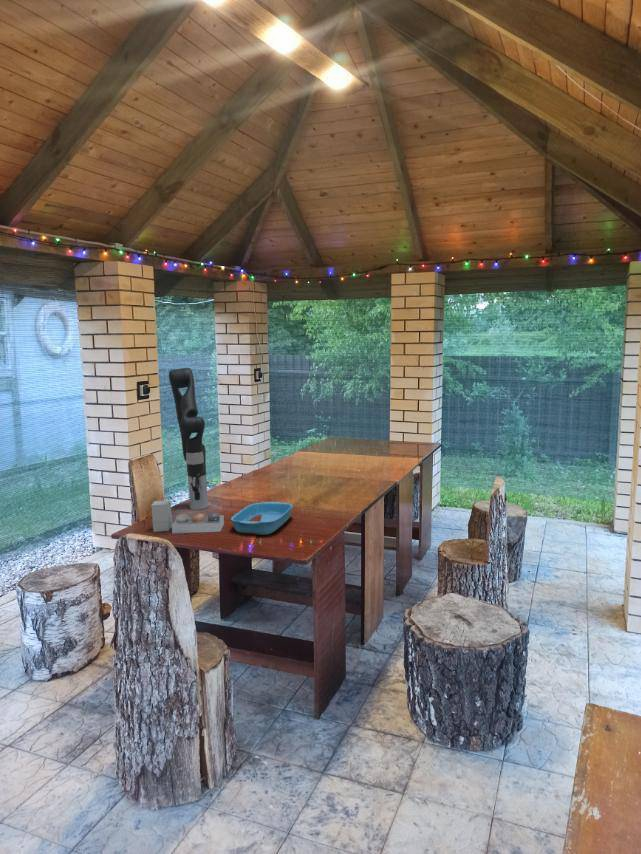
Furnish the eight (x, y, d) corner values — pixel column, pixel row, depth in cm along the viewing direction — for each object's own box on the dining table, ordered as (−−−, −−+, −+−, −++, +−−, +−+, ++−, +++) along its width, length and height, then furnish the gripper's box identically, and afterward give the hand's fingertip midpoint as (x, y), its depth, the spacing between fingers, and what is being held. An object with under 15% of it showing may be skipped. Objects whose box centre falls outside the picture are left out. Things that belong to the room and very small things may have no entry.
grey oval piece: (178, 528, 266) (177, 514, 265) (190, 528, 266) (189, 513, 266) (176, 532, 261) (175, 517, 260) (187, 531, 261) (186, 517, 260)
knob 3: (209, 527, 267) (208, 512, 266) (221, 526, 267) (220, 512, 266) (207, 530, 261) (206, 516, 261) (219, 530, 262) (218, 515, 261)
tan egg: (194, 527, 266) (193, 513, 266) (205, 527, 267) (204, 513, 266) (191, 531, 261) (190, 516, 260) (203, 531, 261) (202, 516, 260)
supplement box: (172, 526, 271) (171, 499, 270) (169, 531, 264) (167, 504, 262) (156, 527, 271) (154, 500, 269) (152, 532, 264) (150, 504, 262)
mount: (178, 527, 270) (177, 516, 269) (224, 525, 270) (223, 515, 269) (172, 535, 258) (171, 524, 257) (220, 533, 258) (219, 522, 258)
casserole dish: (254, 513, 289) (254, 499, 288) (298, 515, 283) (297, 501, 283) (224, 537, 254) (223, 521, 253) (273, 540, 248) (272, 523, 247)
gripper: (189, 459, 266) (191, 496, 269) (183, 465, 253) (186, 504, 256) (206, 458, 266) (208, 495, 269) (201, 464, 253) (203, 503, 256)
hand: (197, 499), depth 262 cm, fingers closed
